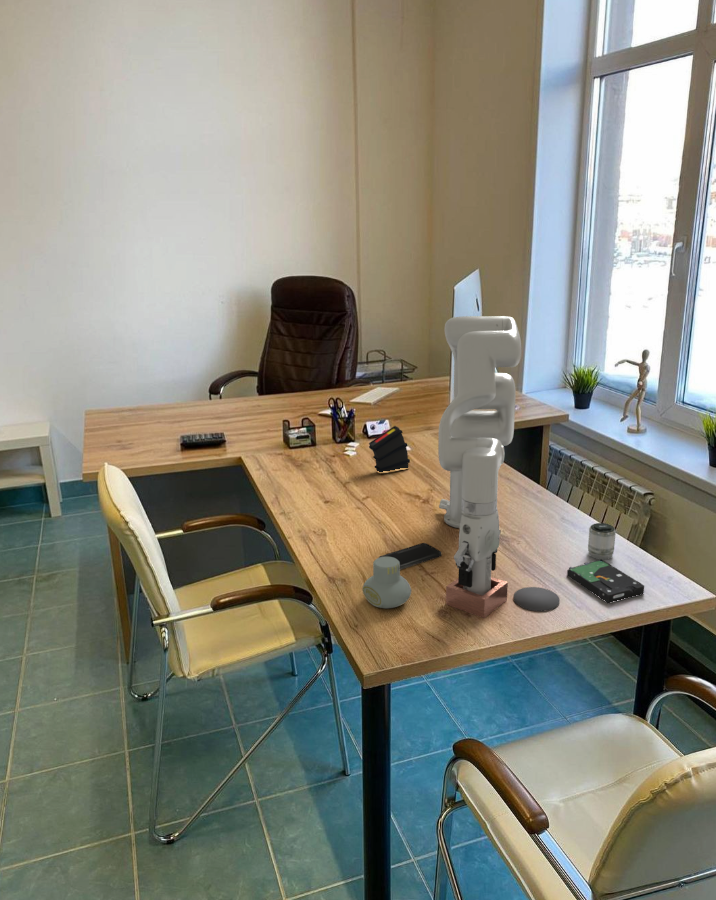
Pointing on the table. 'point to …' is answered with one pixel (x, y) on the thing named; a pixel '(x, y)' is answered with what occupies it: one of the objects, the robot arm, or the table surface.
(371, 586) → the air freshener
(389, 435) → the magazine
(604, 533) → the camera lens
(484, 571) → the energy drink can
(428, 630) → the table surface
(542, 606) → the mat
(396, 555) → the phone
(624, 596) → the disk drive
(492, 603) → the collar
